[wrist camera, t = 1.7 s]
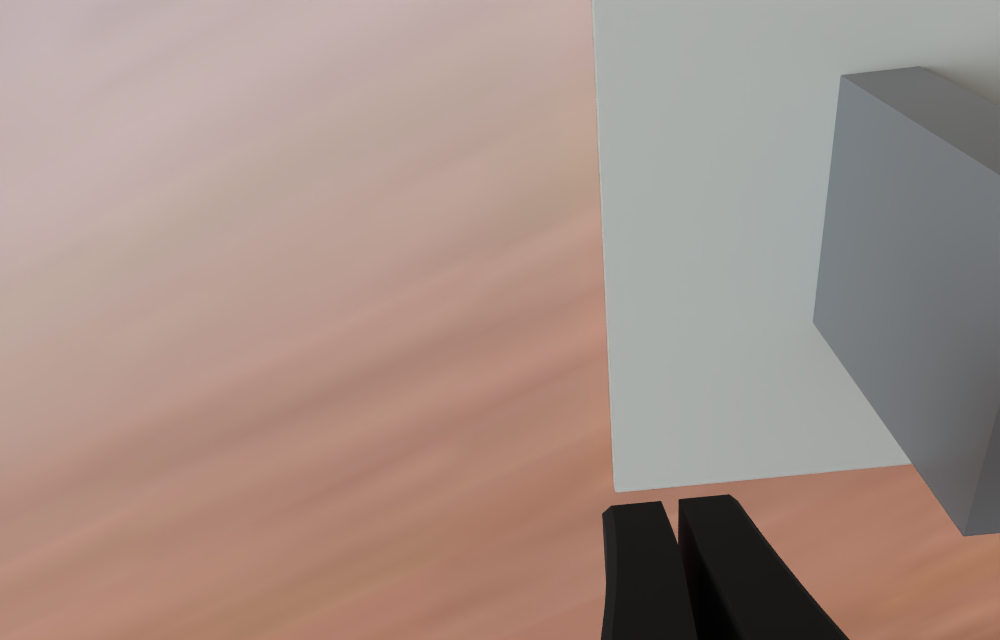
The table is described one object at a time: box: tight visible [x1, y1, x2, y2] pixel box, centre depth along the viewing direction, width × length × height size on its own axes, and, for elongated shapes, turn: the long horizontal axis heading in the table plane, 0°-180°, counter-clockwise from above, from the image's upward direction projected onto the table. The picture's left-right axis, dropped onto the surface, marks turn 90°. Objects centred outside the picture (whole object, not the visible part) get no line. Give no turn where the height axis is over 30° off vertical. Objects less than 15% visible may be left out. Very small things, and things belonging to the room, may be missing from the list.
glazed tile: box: [813, 66, 1000, 536], centre depth 15 cm, size 2×6×7 cm, turn 6°
